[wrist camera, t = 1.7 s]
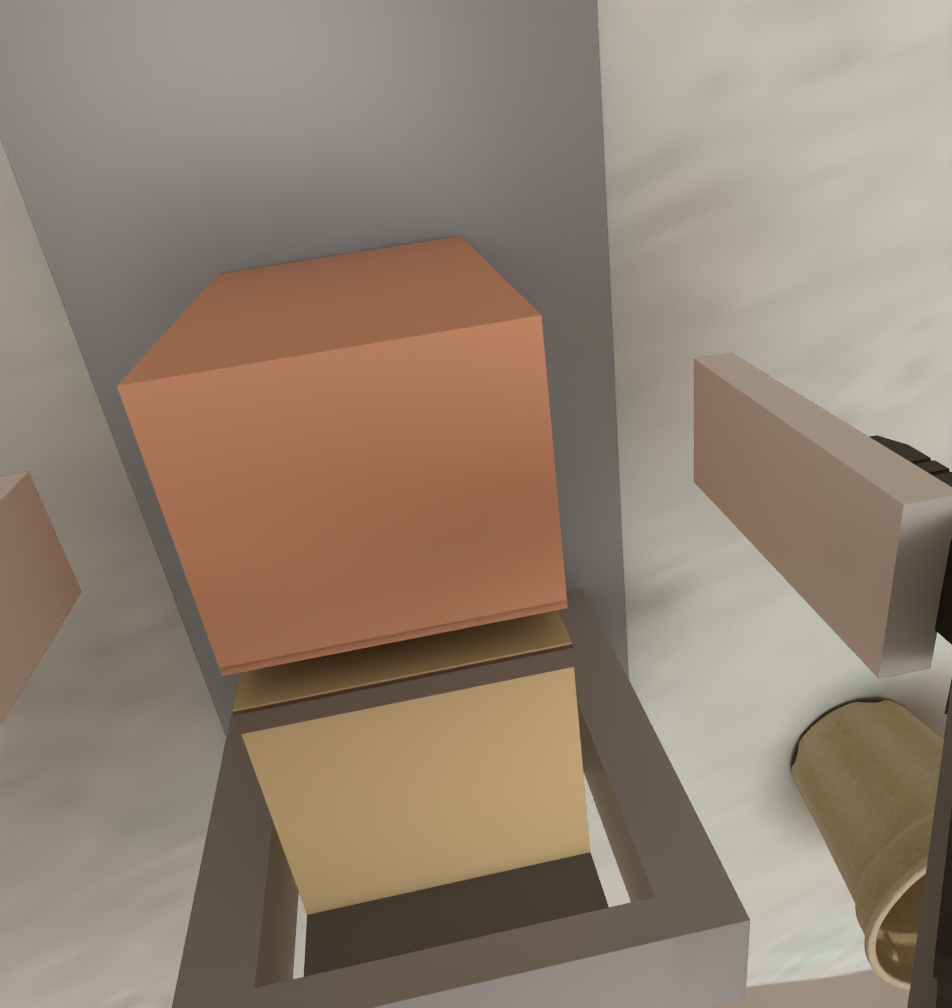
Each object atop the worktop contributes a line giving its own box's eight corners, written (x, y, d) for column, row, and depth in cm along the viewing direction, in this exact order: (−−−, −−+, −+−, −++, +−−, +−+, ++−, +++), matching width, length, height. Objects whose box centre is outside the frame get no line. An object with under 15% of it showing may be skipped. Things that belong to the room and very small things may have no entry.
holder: (267, 825, 33) (215, 1267, 20) (-76, -100, 18) (-1084, -636, 5) (626, 749, 34) (792, 1121, 21) (578, -177, 19) (1025, -772, 6)
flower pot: (985, 695, 36) (1157, 849, 28) (868, 833, 39) (994, 1005, 31) (833, 645, 33) (979, 802, 25) (721, 799, 36) (820, 978, 29)
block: (270, 465, 24) (221, 676, 15) (217, 274, 21) (116, 386, 12) (485, 427, 25) (567, 607, 15) (460, 235, 22) (541, 315, 13)
